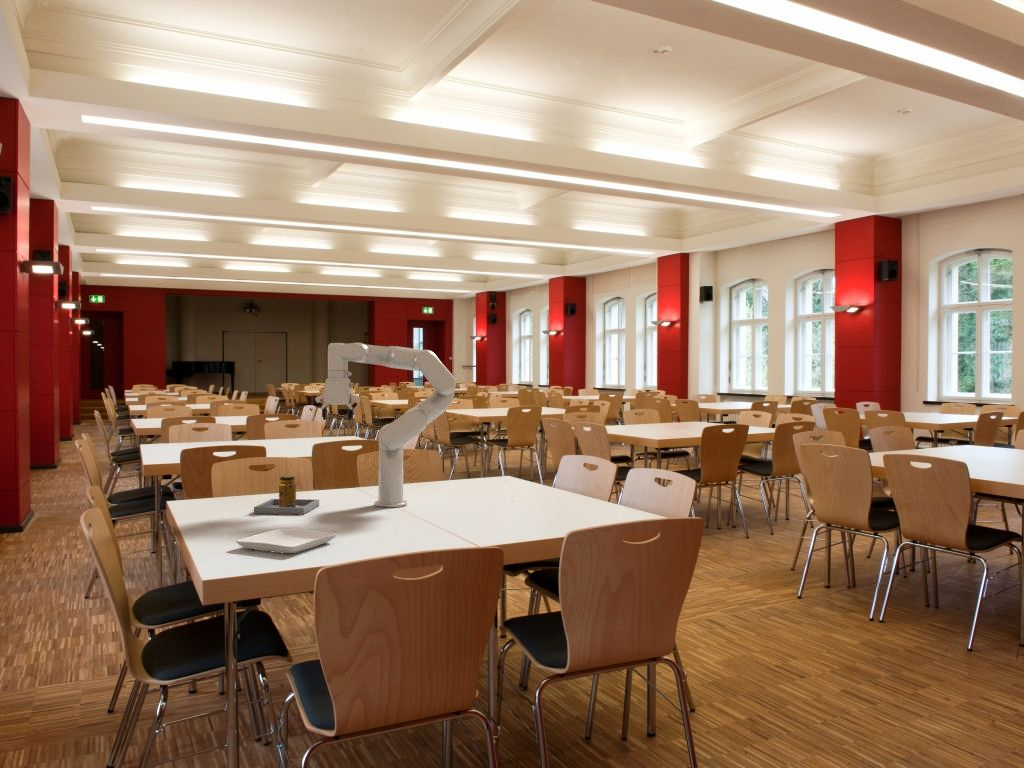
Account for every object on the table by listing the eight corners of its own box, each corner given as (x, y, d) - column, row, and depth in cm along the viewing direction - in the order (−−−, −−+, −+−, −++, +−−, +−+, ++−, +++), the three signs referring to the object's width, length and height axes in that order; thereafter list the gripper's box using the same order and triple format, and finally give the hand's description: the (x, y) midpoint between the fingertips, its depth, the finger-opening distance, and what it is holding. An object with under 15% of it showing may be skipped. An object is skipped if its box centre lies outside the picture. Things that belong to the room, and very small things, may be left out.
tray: (272, 505, 296) (272, 498, 296) (319, 506, 296) (319, 499, 296) (253, 514, 278) (253, 507, 278) (303, 514, 277) (303, 508, 277)
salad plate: (281, 537, 242) (281, 526, 242) (338, 543, 234) (338, 532, 234) (233, 551, 222) (233, 539, 222) (293, 559, 214) (293, 546, 214)
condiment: (275, 508, 287) (275, 476, 287) (296, 505, 293) (296, 474, 292) (283, 511, 282) (283, 478, 281) (304, 508, 287) (304, 476, 287)
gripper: (362, 375, 299) (362, 419, 299) (318, 375, 299) (318, 418, 300) (357, 375, 291) (357, 420, 291) (312, 375, 292) (312, 420, 292)
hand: (337, 419), depth 295 cm, fingers open, 9 cm apart
